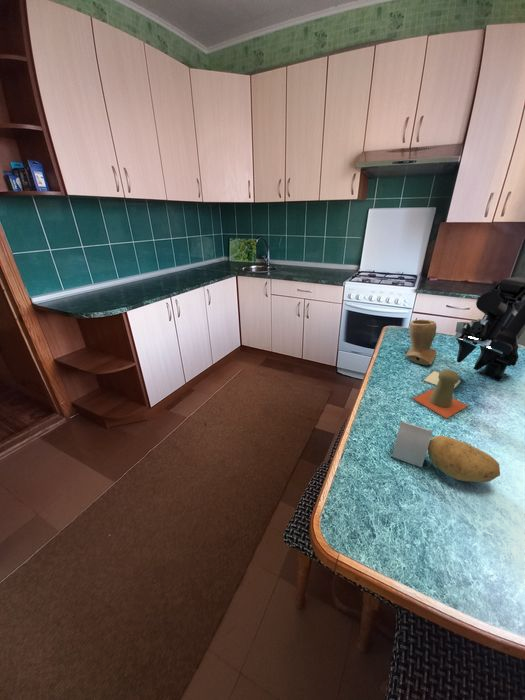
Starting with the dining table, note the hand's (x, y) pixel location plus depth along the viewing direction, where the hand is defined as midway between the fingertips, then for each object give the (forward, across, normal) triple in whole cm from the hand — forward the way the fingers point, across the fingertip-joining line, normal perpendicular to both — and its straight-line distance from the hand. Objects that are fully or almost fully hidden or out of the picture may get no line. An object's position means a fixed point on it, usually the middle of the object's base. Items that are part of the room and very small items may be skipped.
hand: (466, 365), depth 91 cm
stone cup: (+5, -26, -2) cm, 27 cm away
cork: (+14, +3, -3) cm, 14 cm away
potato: (+24, +29, -8) cm, 38 cm away
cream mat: (+8, -9, +1) cm, 12 cm away
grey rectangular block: (+26, +26, -17) cm, 40 cm away
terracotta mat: (+14, +3, -3) cm, 15 cm away
